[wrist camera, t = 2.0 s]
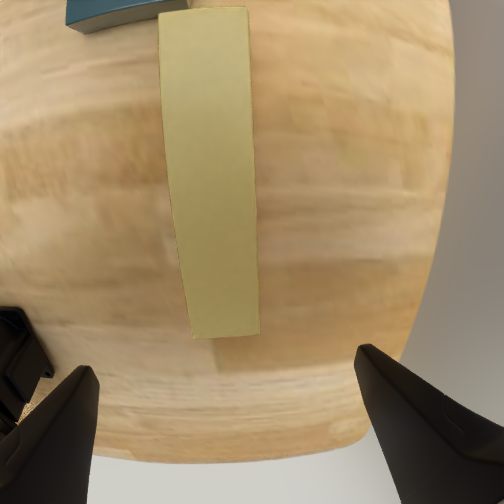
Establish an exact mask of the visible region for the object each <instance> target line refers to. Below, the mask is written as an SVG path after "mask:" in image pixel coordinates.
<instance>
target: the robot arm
mask: <svg viewBox="0 0 504 504" xmlns="http://www.w3.org/2000/svg"><path fill="white" fill-rule="evenodd" d="M354 369H355V372H356V376H357V379H358V383H359V387H360V390H361V394H362V398H363V401H364V405H365V407H366V410H367V413H368V415H369V418H370V420H371V423H372V425H373V428H374V430H375V433H376V435H377V438H378V441H379V443H380V446H381V448H382V451H383V454H384V456H385V459H386V461H387V464H388V467H389V470H390V472H391V475H392V478H393V481H394V483H395V486H396V489H397V492H398V494H399V497H400V500H401V504H504V427H502V426H500V425H498V424H496V423H493V422H492V421H490V420H488V419H486V418H484V417H482V416H480V415H478V414H476V413H474V412H472V411H471V410H469V409H467V408H466V407H464V406H462V405H461V404H459V403H457V402H456V401H454V400H453V399H451V398H450V397H448V396H447V395H444V393H442V392H441V391H439V390H438V389H436V388H435V387H433V386H432V385H431V384H429V383H428V382H426V381H425V380H423V379H422V378H420V377H419V376H417V375H416V374H414V373H413V372H411V371H410V370H408V369H407V368H405V367H404V366H403V365H401V364H400V363H398V362H397V361H395V360H394V359H392V358H391V357H389V356H388V355H387V354H385V353H384V352H382V351H381V350H379V349H378V348H376V347H375V346H373V345H372V344H363V345H360V346H358V348H357V352H356V356H355V360H354ZM54 374H55V372H54V370H53V368H52V366H51V365H50V363H49V361H48V359H47V357H46V356H45V354H44V352H43V350H42V348H41V346H40V345H39V343H38V341H37V339H36V337H35V335H34V333H33V331H32V329H31V327H30V325H29V323H28V321H27V318H26V316H25V314H24V312H23V311H22V310H21V309H20V308H19V307H0V504H87V493H88V483H89V475H90V466H91V459H92V452H93V445H94V439H95V433H96V426H97V415H98V401H99V389H100V385H99V381H98V379H97V377H96V375H95V373H94V371H93V370H92V368H91V367H90V366H85V365H80V366H78V367H77V368H76V369H75V370H74V371H73V372H72V373H71V374H70V375H69V376H67V377H66V378H65V379H64V380H63V381H62V382H61V383H60V384H59V385H58V386H57V387H56V388H55V389H54V390H53V391H52V392H51V393H50V394H49V395H48V396H47V397H46V398H45V399H44V400H43V401H42V402H41V403H40V404H38V405H37V406H36V407H35V408H34V409H33V410H32V411H31V412H30V413H29V414H28V415H27V416H26V417H25V418H24V419H23V420H22V421H21V422H20V423H19V426H18V425H17V424H16V423H15V422H18V421H19V418H20V416H21V414H22V411H23V409H24V406H25V404H26V403H29V402H30V400H31V398H32V396H33V393H34V391H35V389H36V386H37V384H38V382H39V380H40V378H41V377H43V378H53V376H54Z"/></svg>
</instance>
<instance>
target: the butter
mask: <svg viewBox="0 0 504 504" xmlns="http://www.w3.org/2000/svg"><path fill="white" fill-rule="evenodd" d="M158 53H159V78H160V97H161V112H162V125H163V137H164V148H165V158H166V168H167V177H168V186H169V194H170V202H171V210H172V218H173V225H174V232H175V239H176V245H177V252H178V258H179V264H180V270H181V276H182V282H183V288H184V294H185V299H186V304H187V310H188V315H189V320H190V325H191V330H192V335H193V339H210V338H224V337H236V336H247V335H258V334H260V307H259V275H258V244H257V214H256V186H255V158H254V132H253V106H252V81H251V57H250V33H249V11H248V6H225V7H208V8H197V9H187V10H178V11H171V12H164V13H159V14H158Z"/></svg>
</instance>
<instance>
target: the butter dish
mask: <svg viewBox="0 0 504 504" xmlns="http://www.w3.org/2000/svg"><path fill="white" fill-rule="evenodd" d="M187 9H190V0H67V7H66V23H65V24H66V26H68V27H70V28H72V29H74V30H76V31H79V32H81V33H83V34H87V33H91V32H94V31H98V30H101V29H105V28H109V27H113V26H117V25H121V24H126V23H131V22H135V21H140V20H146V19H151V18H157V17H158V14H159V13H164V12H171V11H178V10H187Z"/></svg>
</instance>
